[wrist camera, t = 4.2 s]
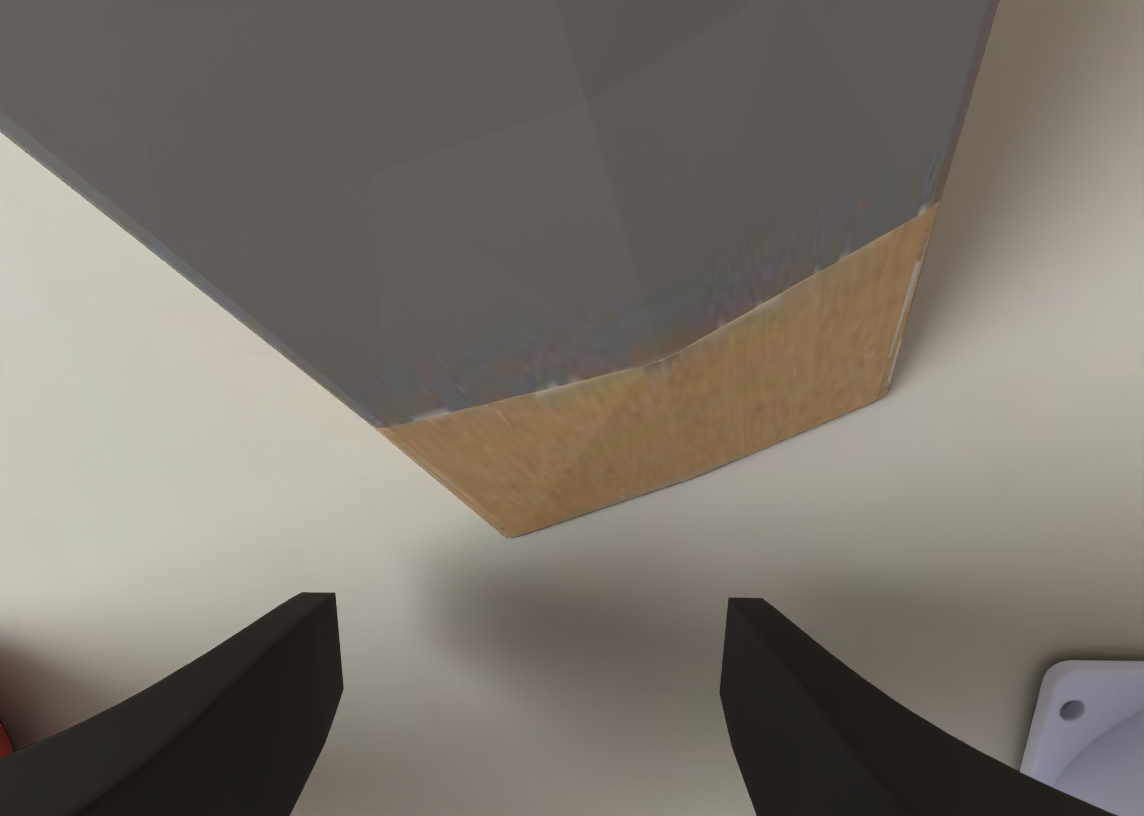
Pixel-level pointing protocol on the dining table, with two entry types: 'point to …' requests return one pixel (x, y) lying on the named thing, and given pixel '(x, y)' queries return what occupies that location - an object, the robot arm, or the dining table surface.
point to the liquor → (5, 743)
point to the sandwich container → (526, 208)
